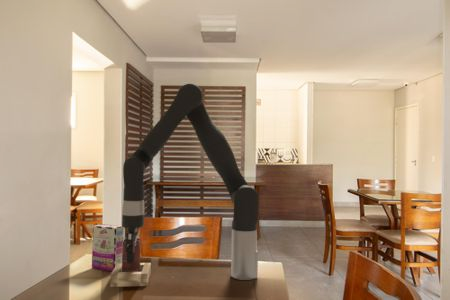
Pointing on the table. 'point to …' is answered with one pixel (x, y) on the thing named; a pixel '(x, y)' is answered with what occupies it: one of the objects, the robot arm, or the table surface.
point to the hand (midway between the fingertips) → (132, 259)
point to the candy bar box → (107, 246)
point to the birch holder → (130, 276)
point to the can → (136, 264)
